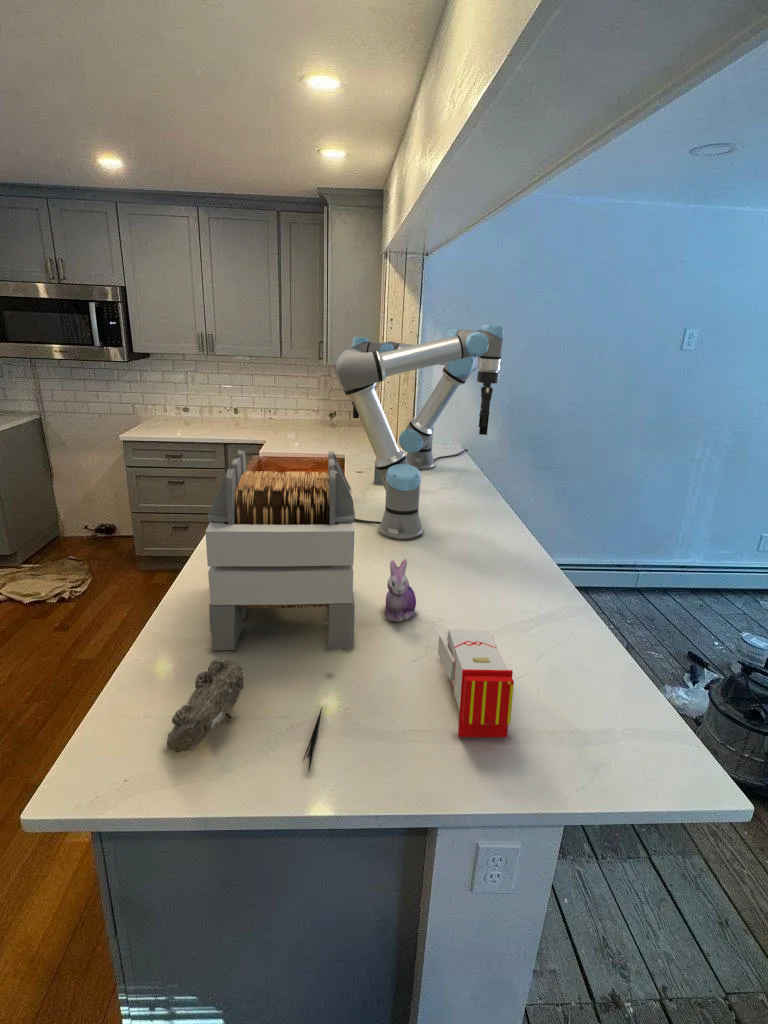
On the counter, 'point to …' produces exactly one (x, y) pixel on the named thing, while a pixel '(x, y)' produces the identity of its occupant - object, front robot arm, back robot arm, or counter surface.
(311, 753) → the feather
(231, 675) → the fossil
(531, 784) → the counter surface
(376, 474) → the brick
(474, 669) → the toy
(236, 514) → the record crate
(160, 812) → the counter surface
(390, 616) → the figurine
